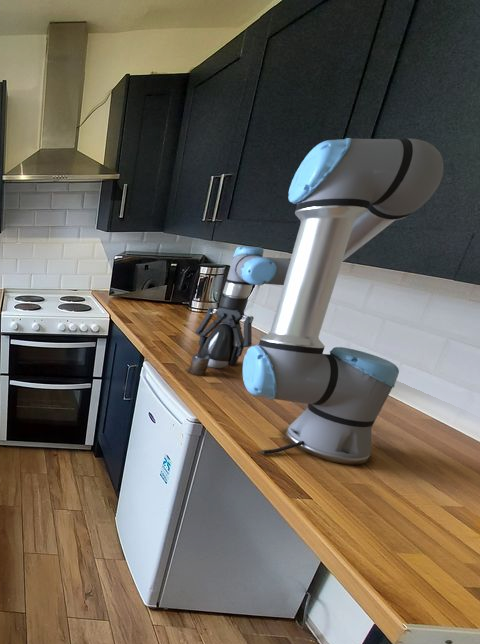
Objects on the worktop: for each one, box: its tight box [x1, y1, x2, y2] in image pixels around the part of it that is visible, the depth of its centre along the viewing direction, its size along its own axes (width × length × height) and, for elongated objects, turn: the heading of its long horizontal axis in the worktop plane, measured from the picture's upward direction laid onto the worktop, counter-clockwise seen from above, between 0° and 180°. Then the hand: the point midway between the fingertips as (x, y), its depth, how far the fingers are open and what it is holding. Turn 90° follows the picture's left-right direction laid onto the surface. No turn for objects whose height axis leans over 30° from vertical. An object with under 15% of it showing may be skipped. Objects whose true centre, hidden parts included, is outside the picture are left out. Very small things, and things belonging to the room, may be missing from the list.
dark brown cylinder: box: [188, 353, 210, 377], centre depth 135 cm, size 5×5×6 cm
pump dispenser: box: [200, 323, 242, 369], centre depth 138 cm, size 10×10×15 cm
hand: (215, 359), depth 140 cm, fingers closed on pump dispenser, 10 cm apart
